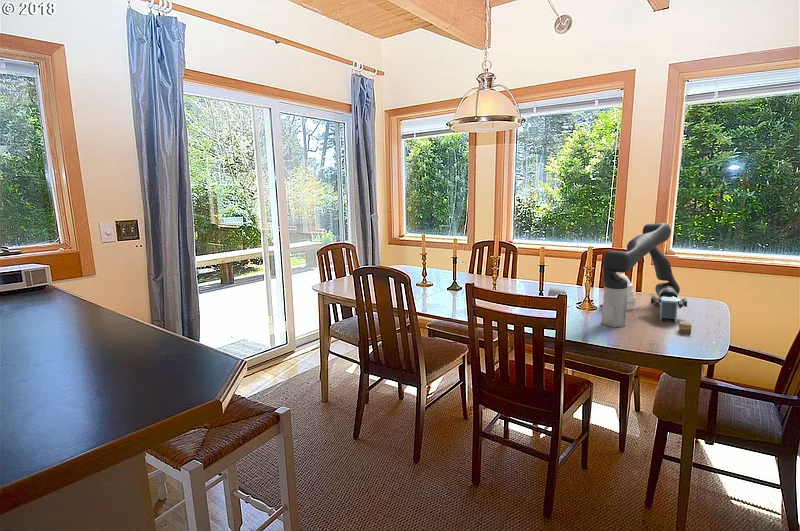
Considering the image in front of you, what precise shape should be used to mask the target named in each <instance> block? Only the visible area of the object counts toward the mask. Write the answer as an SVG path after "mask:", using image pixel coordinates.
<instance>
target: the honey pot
mask: <svg viewBox="0 0 800 531" xmlns="http://www.w3.org/2000/svg"><path fill="white" fill-rule="evenodd" d="M616 274H617V275H618V276H619V277H621V278H622V279H624V280H626V281H627V283H628V286H627V305H626V311H629V310H631V311H632V310H634V309H636V306H637V297H636V294H635V290H634V289H633V286H634V284H633V283H631V281H630V279H629V277H628V276H627V275H625V274H623V273H621V272H616Z"/></svg>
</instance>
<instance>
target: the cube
mask: <svg viewBox="0 0 800 531" xmlns="http://www.w3.org/2000/svg"><path fill="white" fill-rule="evenodd" d="M678 333H679V334H684V333H686V334H687V335H691V334H692V322H690V321H680V320H679V321H678Z"/></svg>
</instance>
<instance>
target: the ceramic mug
mask: <svg viewBox="0 0 800 531" xmlns="http://www.w3.org/2000/svg"><path fill="white" fill-rule="evenodd" d="M561 293H562V294H566V295H567V292H566V290H564V289H559V288H554V287H550V288H549V290H548V292H547V297H548V296H556V295H558V294H561Z"/></svg>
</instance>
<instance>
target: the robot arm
mask: <svg viewBox="0 0 800 531" xmlns="http://www.w3.org/2000/svg"><path fill="white" fill-rule="evenodd" d="M671 234H672V229H671V227H670V225H669V224H668V223H665V222H659V223H658V222H657V223H648V224H647V223H646V224H645V225H644V226H643V228H642V234H639V235H637V236H635V237H633V238H632V239H631V240H630V241H629V242H628V243H627V244H626V251H622V250H607V251H606V252H605V253H604V256H603V264H602V265H603V284H604V285H603V286H604V287H603V303H602V304H601V317H600V318H601V323H600V324H602V325H604V326H608V327H612V328H620V327H625V326H626V324H627V323H626V319H627V310H626V305H627V286H628V283H627V281H626V280H624V279H622V278H621V277H619V276H620V275H617V274H616V272H621V274H623V273H624V274H625V273H627V272H628V273H629V272H630V271H631V270H632V269H633V268H634V267H635V266H636V264H637V263H638V262H639V261H640V260H642V258H644V257H646V255H648V254H649V255H650V257H651V260H652V263H653V267H654V271H655V275H656V279H657V280H659V281H663V282H659V283H657V284H656V285H655V286H654V287H655V293H656V295H657V296H658V297H656V296H655V295H651V297H650V305H653V304H654V305H655V306H656V307H659V306H661V297H674V298H677V300H678V305H677V307H678V309H682V308H683V307H685V308H686V307H688V300H687V298H685V297H683V298H682V299H680V298H679V297H678V295H679V294H680V292H681V287H680V286H679V284H678V282H677V280H676V279H675V276H674V275H673V271H672V265H671V262H670V260H669V259H668V258H667V257H666V256H665V255H664V253H662V252H661V250H660V249H659V248H658V247H659V245H661V244H664V243H665V242H666V241H668V240H669V238H670V237H671ZM664 281H665V282H664Z"/></svg>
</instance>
